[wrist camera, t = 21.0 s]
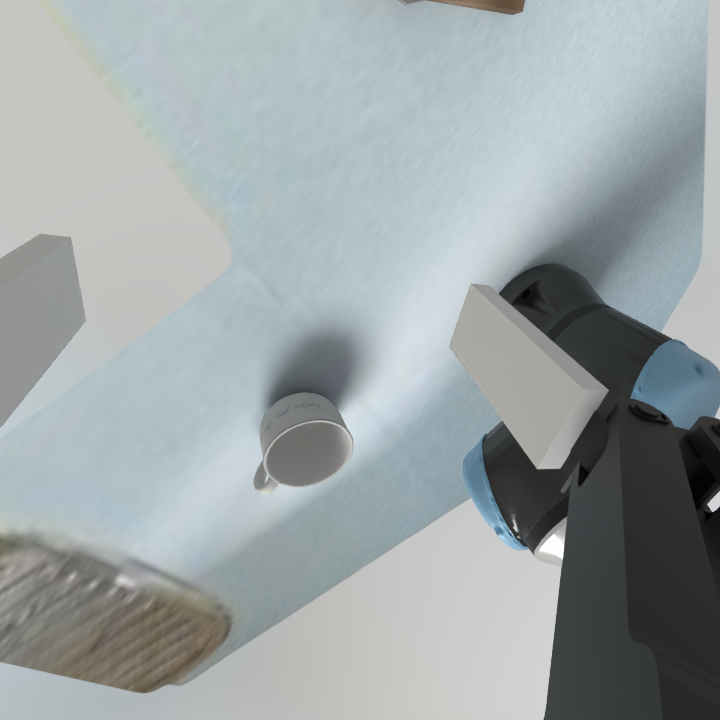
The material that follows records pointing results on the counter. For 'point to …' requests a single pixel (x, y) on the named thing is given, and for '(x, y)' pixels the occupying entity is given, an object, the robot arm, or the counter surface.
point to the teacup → (301, 442)
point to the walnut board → (489, 5)
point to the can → (409, 1)
